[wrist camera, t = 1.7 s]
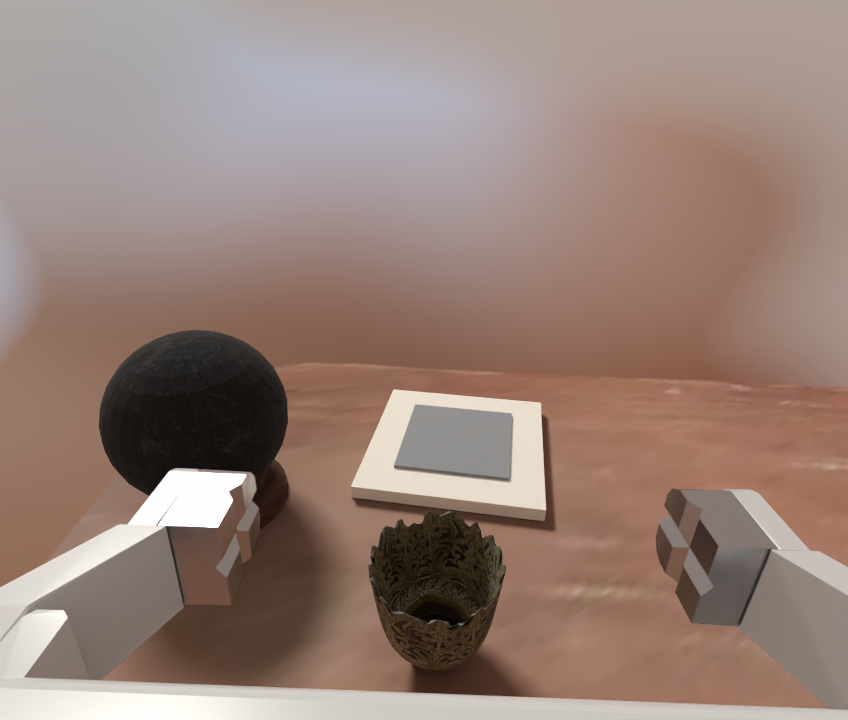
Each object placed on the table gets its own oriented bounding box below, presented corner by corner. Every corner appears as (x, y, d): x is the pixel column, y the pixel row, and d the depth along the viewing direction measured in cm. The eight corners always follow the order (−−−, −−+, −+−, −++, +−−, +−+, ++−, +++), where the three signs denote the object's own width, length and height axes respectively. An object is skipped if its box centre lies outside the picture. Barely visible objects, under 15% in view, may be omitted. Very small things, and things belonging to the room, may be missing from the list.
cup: (470, 585, 36) (475, 498, 32) (516, 690, 29) (529, 597, 26) (364, 613, 34) (357, 523, 30) (389, 731, 28) (384, 636, 24)
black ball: (121, 583, 36) (48, 402, 29) (143, 467, 47) (94, 316, 40) (310, 534, 40) (286, 364, 33) (290, 438, 51) (268, 296, 44)
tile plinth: (539, 412, 55) (540, 400, 54) (544, 521, 41) (546, 507, 40) (394, 398, 57) (393, 387, 57) (352, 497, 44) (350, 483, 43)
